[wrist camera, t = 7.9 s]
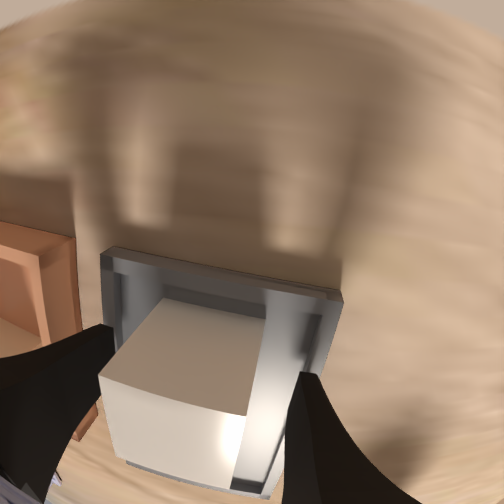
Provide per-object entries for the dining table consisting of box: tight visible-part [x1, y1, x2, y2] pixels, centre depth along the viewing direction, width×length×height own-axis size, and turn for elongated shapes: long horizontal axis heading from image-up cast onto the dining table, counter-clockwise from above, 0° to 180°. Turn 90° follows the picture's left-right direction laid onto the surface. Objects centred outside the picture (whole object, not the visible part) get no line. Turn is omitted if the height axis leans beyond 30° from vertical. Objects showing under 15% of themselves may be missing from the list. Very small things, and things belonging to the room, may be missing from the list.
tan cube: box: [0, 318, 43, 358], centre depth 12 cm, size 4×4×5 cm
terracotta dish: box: [0, 221, 98, 442], centre depth 13 cm, size 11×9×2 cm
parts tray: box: [100, 247, 344, 500], centre depth 14 cm, size 14×9×1 cm, turn 172°
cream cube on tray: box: [98, 298, 266, 489], centre depth 10 cm, size 4×4×5 cm
